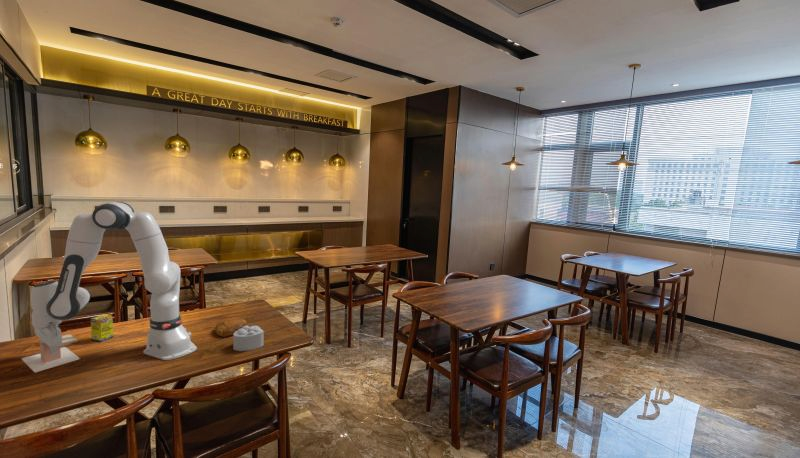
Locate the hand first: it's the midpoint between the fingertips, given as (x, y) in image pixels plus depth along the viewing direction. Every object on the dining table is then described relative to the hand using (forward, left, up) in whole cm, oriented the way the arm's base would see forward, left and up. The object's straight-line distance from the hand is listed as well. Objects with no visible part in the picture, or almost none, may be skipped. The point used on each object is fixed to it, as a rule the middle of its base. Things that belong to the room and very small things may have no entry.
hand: (49, 351), depth 152 cm
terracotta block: (0, 0, -3) cm, 3 cm away
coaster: (+16, -7, -4) cm, 18 cm away
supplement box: (+6, -20, -4) cm, 21 cm away
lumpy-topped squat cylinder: (-52, -57, -4) cm, 78 cm away
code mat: (0, 0, -4) cm, 4 cm away
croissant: (-31, -62, -4) cm, 70 cm away
